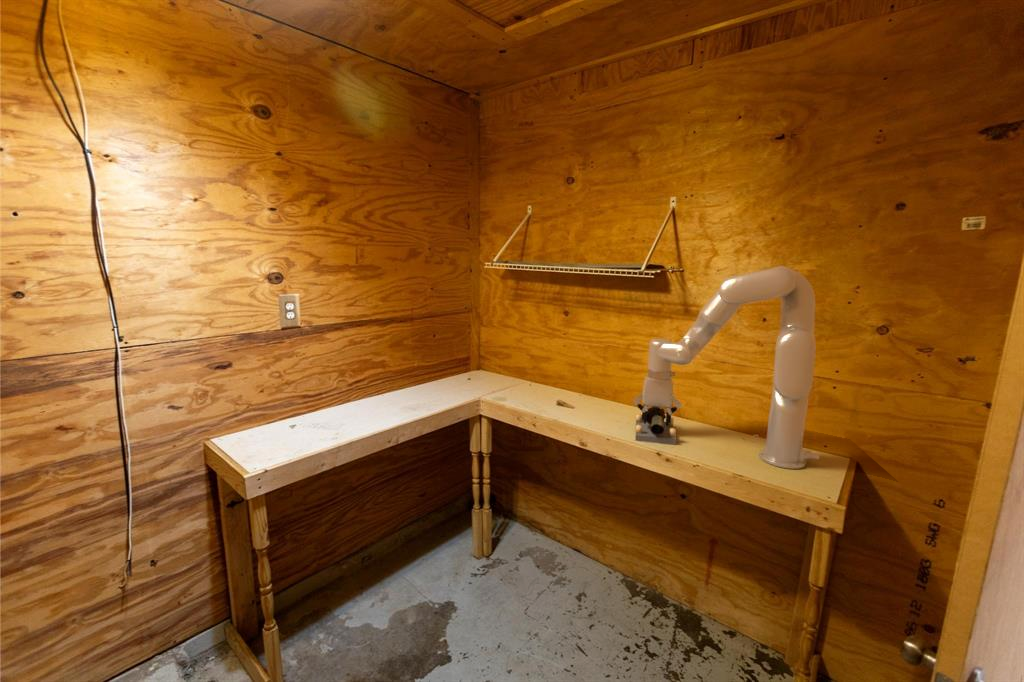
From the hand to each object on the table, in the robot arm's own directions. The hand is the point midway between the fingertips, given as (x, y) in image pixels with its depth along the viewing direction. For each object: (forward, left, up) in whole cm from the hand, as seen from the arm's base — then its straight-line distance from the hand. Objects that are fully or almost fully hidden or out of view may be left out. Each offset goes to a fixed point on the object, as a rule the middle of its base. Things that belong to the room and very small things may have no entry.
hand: (655, 423), depth 161 cm
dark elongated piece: (0, 0, -2) cm, 2 cm away
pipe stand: (0, 0, -4) cm, 4 cm away
